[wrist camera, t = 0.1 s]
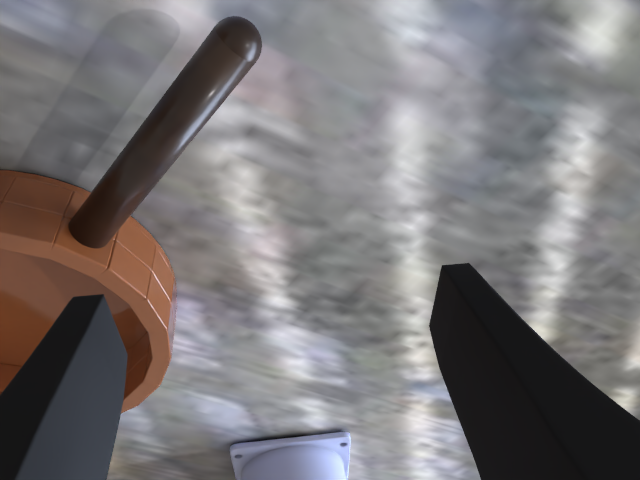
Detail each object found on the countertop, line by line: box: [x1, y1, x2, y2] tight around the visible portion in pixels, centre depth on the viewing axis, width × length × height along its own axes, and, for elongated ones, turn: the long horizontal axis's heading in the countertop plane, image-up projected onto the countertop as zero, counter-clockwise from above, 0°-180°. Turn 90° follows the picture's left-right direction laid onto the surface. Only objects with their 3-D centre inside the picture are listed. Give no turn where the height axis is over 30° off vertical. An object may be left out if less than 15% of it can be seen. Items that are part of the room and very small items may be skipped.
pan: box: [0, 170, 177, 413], centre depth 22 cm, size 13×13×4 cm
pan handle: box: [69, 16, 262, 248], centre depth 17 cm, size 10×2×2 cm, turn 138°
